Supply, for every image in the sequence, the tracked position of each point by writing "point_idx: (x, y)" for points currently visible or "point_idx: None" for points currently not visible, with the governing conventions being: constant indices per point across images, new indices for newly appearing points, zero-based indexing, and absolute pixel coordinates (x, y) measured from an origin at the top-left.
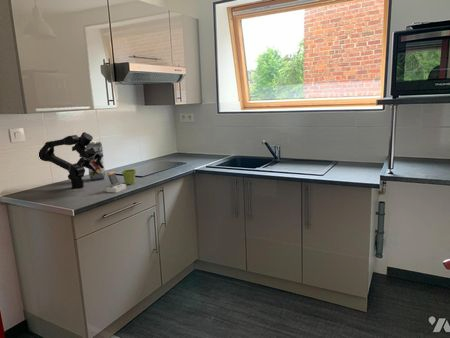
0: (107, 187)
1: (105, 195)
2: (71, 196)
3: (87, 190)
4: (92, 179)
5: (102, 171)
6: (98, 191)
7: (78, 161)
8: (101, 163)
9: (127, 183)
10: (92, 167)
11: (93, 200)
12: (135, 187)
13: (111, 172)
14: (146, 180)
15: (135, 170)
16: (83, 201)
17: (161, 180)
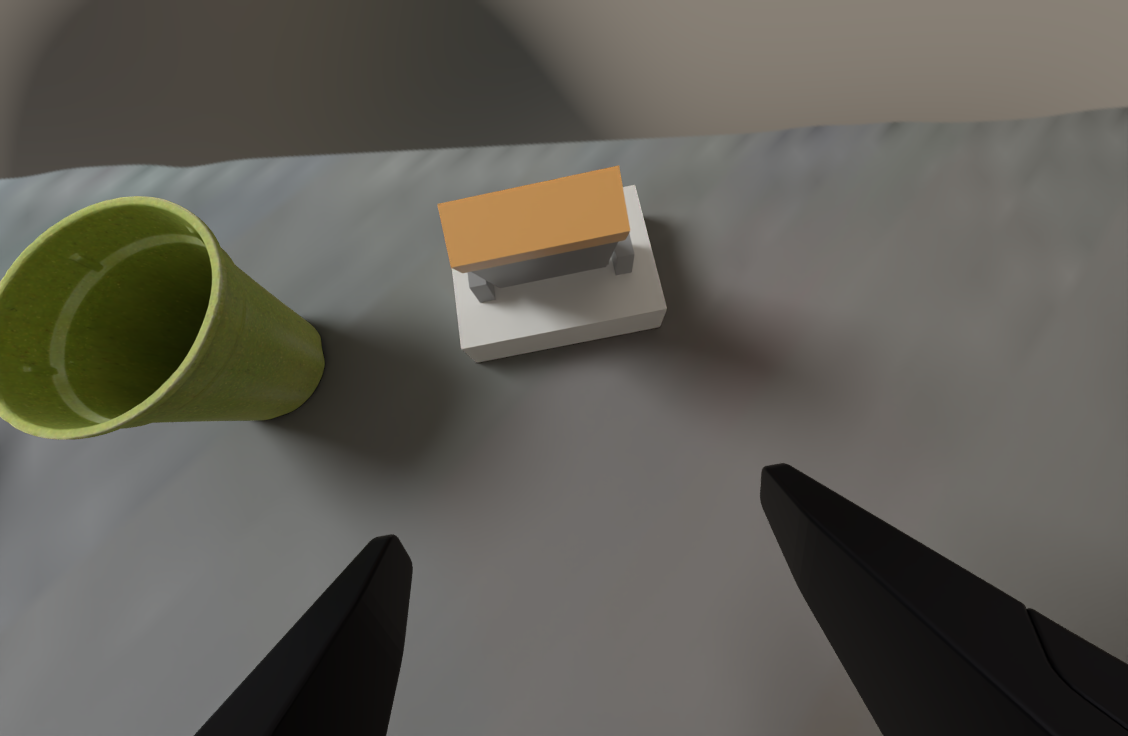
0: (650, 305)
1: (766, 227)
2: (1049, 573)
3: (733, 625)
4: None
5: None
6: (694, 431)
7: None
8: (271, 706)
9: (318, 348)
10: (927, 567)
11: (956, 191)
12: (405, 195)
13: (540, 185)
14: None
15: (47, 252)
16: (1050, 249)
17: (109, 170)
